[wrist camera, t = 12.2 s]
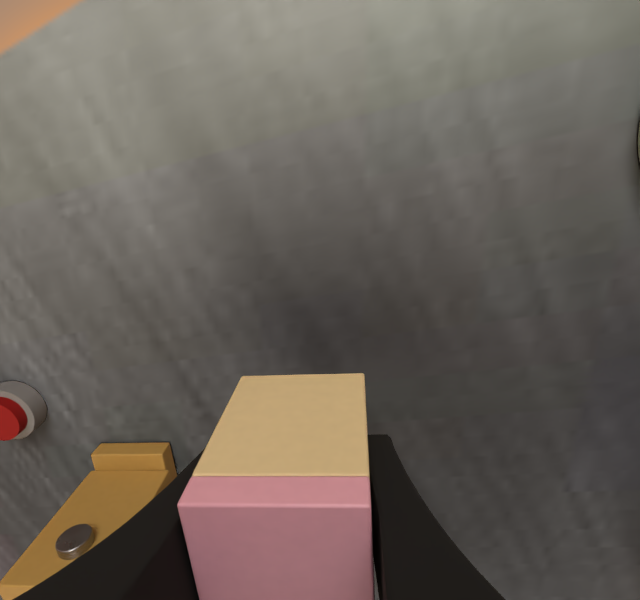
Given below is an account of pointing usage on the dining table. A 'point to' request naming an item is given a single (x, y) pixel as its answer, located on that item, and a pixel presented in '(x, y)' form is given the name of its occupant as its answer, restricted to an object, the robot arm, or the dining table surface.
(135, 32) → the dining table surface
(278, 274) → the dining table surface
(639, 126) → the plate
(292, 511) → the cake slice
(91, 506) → the stand
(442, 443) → the dining table surface
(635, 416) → the dining table surface
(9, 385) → the push button
